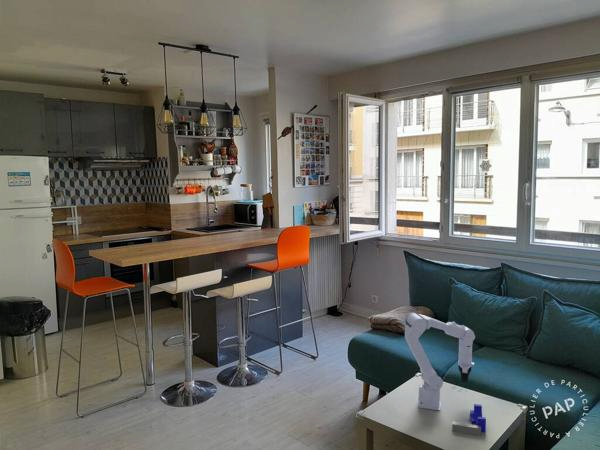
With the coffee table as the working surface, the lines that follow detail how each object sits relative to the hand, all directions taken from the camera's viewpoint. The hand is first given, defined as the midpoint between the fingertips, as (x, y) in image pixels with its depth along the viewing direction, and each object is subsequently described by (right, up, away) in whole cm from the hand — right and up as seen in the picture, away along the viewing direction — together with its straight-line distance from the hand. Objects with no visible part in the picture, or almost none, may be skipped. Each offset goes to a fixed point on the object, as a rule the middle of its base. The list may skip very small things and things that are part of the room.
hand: (464, 381), depth 210 cm
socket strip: (-8, -13, -23) cm, 28 cm away
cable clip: (-1, -12, -17) cm, 21 cm away
